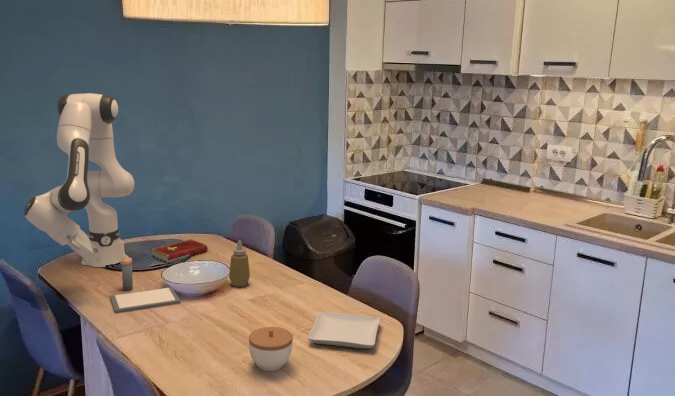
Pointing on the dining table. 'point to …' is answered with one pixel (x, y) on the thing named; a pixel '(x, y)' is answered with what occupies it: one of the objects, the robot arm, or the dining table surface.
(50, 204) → the robot arm
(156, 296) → the writing board
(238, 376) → the dining table surface
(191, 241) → the hardcover book
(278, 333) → the lidded bowl
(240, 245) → the squeeze bottle
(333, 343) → the salad plate
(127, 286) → the marker
